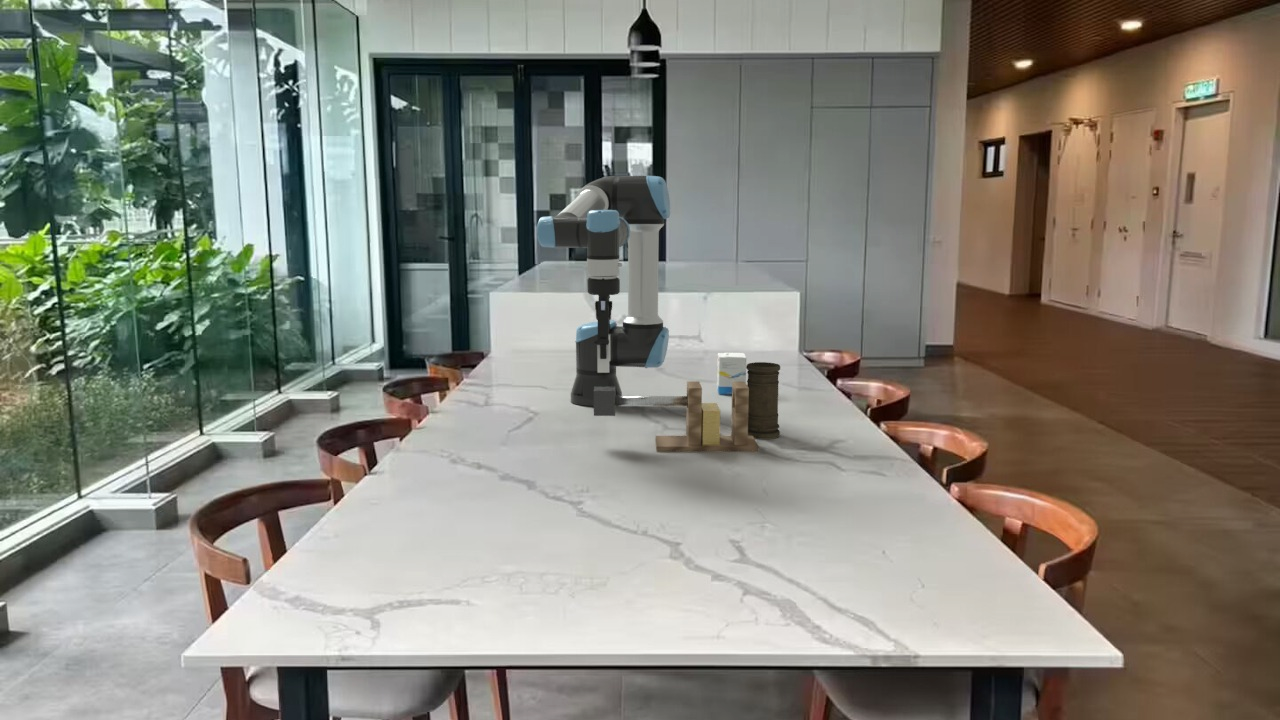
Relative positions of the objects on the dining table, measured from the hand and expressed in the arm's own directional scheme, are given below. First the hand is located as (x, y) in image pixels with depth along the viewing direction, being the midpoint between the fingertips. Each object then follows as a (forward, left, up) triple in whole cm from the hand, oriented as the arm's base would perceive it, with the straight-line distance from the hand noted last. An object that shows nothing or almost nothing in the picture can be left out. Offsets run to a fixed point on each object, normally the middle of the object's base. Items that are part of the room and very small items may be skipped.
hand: (604, 366), depth 219 cm
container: (+39, +10, -20) cm, 45 cm away
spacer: (+25, 0, -18) cm, 31 cm away
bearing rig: (+24, 0, -19) cm, 31 cm away
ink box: (+37, +62, -20) cm, 75 cm away
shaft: (+10, 0, -11) cm, 15 cm away
